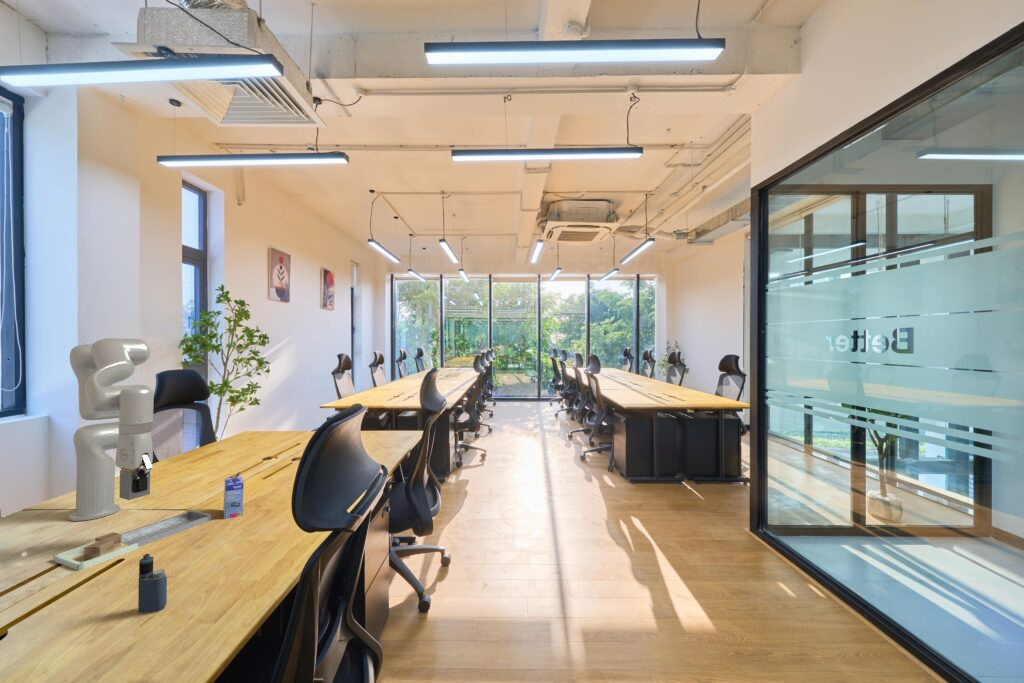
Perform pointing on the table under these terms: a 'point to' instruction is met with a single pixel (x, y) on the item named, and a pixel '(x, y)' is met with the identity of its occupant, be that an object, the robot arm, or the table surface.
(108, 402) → the robot arm
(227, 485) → the ink cartridge box
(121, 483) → the orange and gray block
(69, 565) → the tray
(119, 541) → the tan cardboard cube
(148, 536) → the open rectangular box
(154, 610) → the vaping device
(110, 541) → the brown cube
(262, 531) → the table surface
